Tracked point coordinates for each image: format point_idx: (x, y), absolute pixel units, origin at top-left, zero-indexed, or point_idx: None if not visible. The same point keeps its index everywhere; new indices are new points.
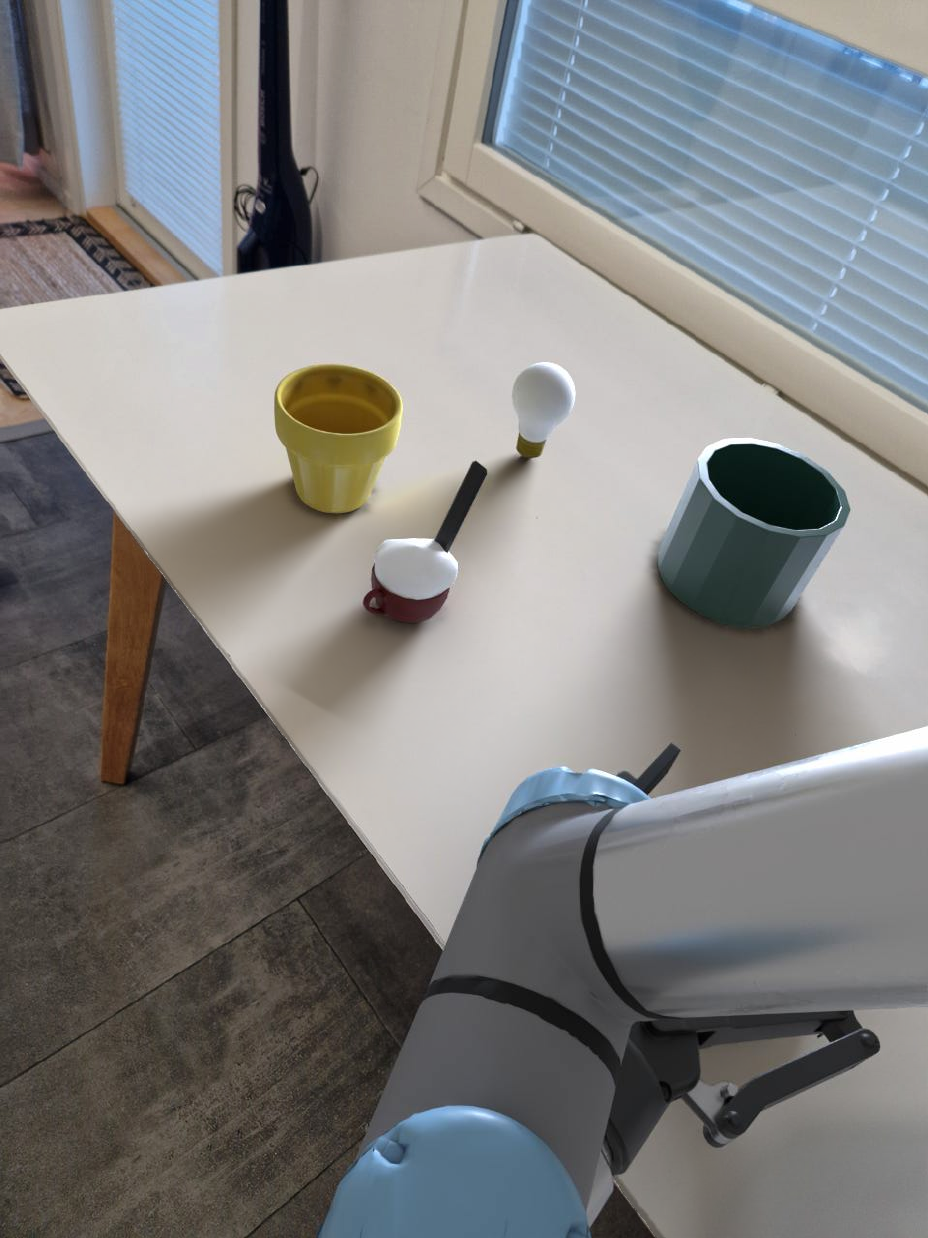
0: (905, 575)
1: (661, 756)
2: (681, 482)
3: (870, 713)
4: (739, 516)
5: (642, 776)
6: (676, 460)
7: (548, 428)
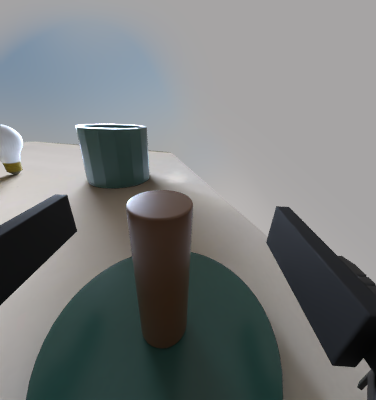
0: (179, 163)
1: (39, 204)
2: None
3: (193, 189)
4: (98, 128)
5: (1, 226)
6: None
7: (12, 152)
